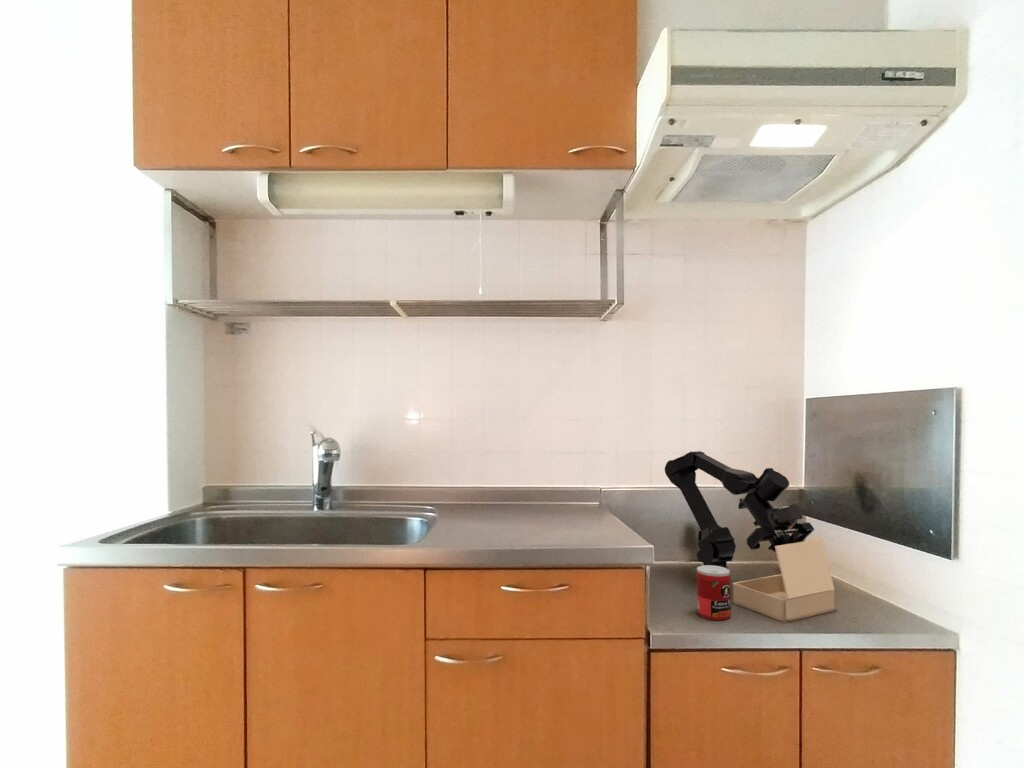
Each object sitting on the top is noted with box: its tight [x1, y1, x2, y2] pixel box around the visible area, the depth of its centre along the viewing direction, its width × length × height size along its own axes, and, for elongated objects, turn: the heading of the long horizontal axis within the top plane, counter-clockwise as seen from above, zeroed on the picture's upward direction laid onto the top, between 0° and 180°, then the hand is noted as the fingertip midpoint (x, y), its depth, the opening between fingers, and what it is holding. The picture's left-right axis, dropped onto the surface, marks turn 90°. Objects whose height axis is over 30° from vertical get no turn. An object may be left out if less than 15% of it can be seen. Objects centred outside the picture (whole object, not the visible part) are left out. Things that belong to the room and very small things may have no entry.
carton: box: [731, 573, 837, 623], centre depth 151 cm, size 16×18×5 cm
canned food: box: [696, 565, 732, 621], centre depth 145 cm, size 8×8×11 cm
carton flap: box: [775, 538, 835, 599], centre depth 145 cm, size 12×16×1 cm
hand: (801, 564), depth 146 cm, fingers closed
